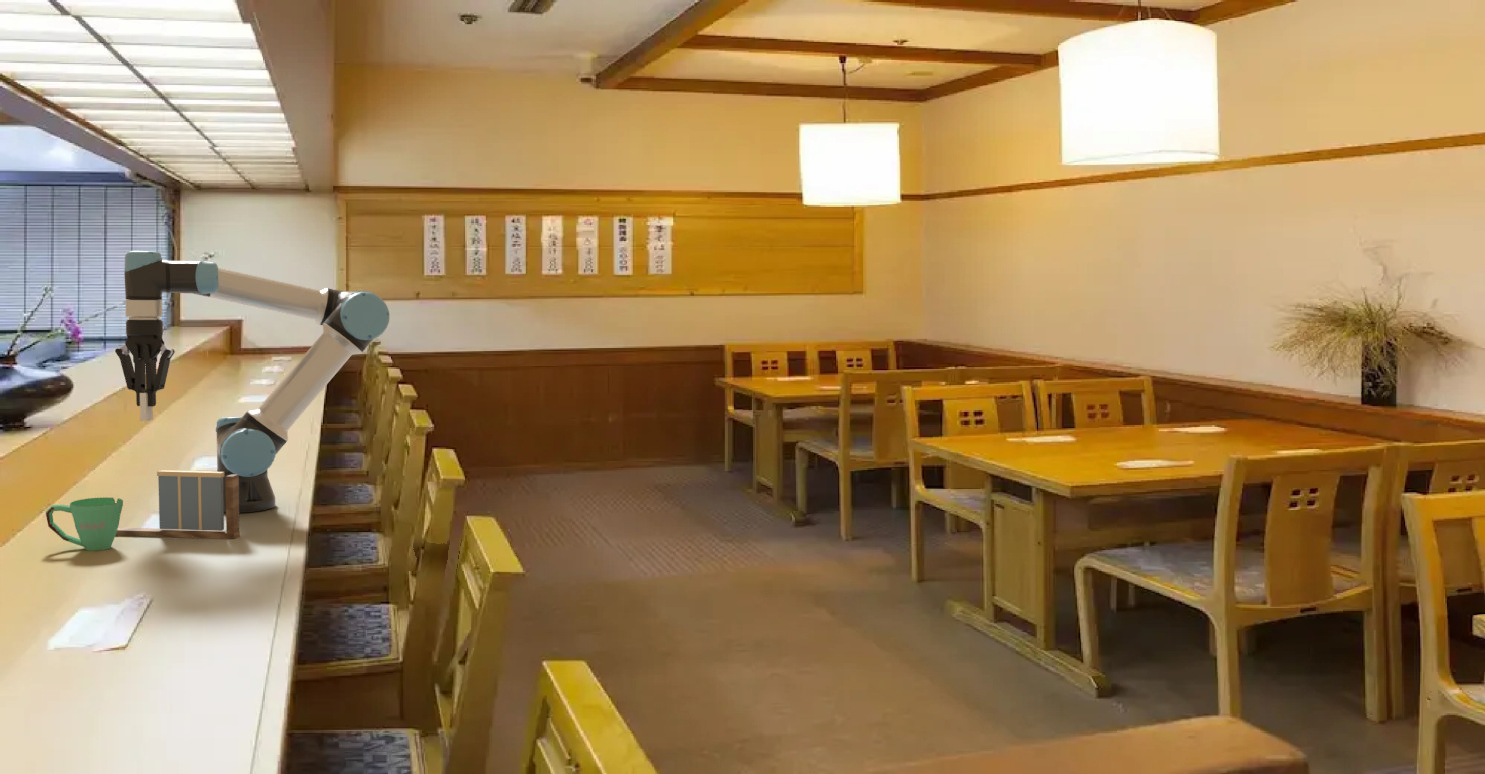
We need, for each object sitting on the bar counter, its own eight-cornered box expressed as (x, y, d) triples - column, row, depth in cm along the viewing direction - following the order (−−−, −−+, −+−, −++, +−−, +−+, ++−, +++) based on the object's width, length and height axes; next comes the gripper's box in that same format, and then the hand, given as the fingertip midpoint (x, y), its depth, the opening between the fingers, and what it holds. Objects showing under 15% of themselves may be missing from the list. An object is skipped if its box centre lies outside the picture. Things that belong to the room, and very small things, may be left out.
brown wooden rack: (239, 536, 260) (238, 474, 259) (234, 538, 258) (233, 476, 256) (104, 532, 261) (102, 470, 260) (97, 535, 258) (95, 472, 257)
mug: (129, 542, 252) (128, 496, 251) (116, 552, 243) (115, 505, 242) (54, 544, 249) (53, 498, 248) (38, 554, 239) (37, 507, 238)
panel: (225, 529, 260) (224, 471, 259) (221, 530, 258) (220, 473, 257) (162, 527, 260) (160, 470, 259) (158, 529, 259) (156, 471, 257)
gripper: (180, 318, 270) (182, 419, 272) (125, 317, 270) (128, 418, 272) (163, 319, 263) (165, 423, 265) (106, 318, 263) (109, 421, 265)
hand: (146, 420), depth 269 cm, fingers closed
